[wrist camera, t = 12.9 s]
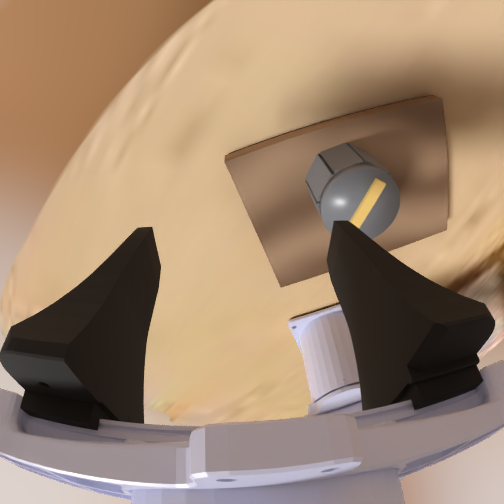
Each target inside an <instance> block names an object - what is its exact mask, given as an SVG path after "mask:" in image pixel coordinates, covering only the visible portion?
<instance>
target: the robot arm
mask: <svg viewBox="0 0 504 504" xmlns="http://www.w3.org/2000/svg"><path fill="white" fill-rule="evenodd" d="M326 261H327V265H328V270H329V274H330V278H331V282H332V284H333V287H334V290H335V292H336V295H337V298H338V300H339V303H340V304H338V305H335V306H332V307H329V308H326V309H323V310H320V311H317V312H313V313H310V314H307V315H304V316H300V317H297V318H294V319H291V320H289V321H288V326H289V328H290V330H291V332H292V334H293V336H294V338H295V340H296V343H297V345H298V347H299V349H300V351H301V353H302V355H303V359H304V364H305V369H306V375H307V380H308V385H309V390H310V396H311V401H312V404H310V405H308V406H307V407H308V413H309V415H305V416H304V417H299V418H290V419H280V420H268V421H254V422H232V423H219V424H209V425H205V426H167V425H152V424H144V405H143V400H144V366H145V353H146V343H147V336H148V331H149V327H150V322H151V318H152V314H153V310H154V305H155V301H156V297H157V293H158V288H159V281H160V271H161V264H160V260H159V256H158V251H157V247H156V242H155V238H154V233H153V228H152V227H142V228H137V229H136V230H135V231H134V232H133V233H132V234H131V235H130V236H129V237H128V238H127V239H126V240H125V241H124V242H123V243H122V244H121V245H120V246H119V247H118V248H117V249H116V250H115V251H114V253H113V254H112V255H111V256H110V257H109V258H108V259H107V260H106V261H104V262H103V263H102V264H101V265H100V266H99V267H98V268H97V269H96V270H95V271H94V272H93V273H92V274H91V275H90V276H89V277H87V278H86V279H85V280H84V281H83V282H82V283H80V284H79V285H78V286H77V287H75V288H74V289H73V290H71V291H70V292H69V293H67V294H66V295H64V296H63V297H62V298H60V299H59V300H58V301H56V302H55V303H53V304H52V305H50V306H48V307H47V308H45V309H44V310H42V311H40V312H39V313H37V314H35V315H33V316H31V317H29V318H27V319H25V320H24V321H22V322H20V323H18V324H16V325H13V326H11V328H10V331H9V333H8V335H7V337H6V340H5V342H4V344H3V347H2V349H1V352H0V362H1V363H2V365H3V367H4V368H5V370H6V371H7V372H8V373H9V374H10V375H11V376H12V377H13V378H14V379H15V380H16V381H17V382H18V383H19V384H20V385H21V386H22V387H23V388H24V389H25V393H24V396H23V397H22V396H21V395H19V394H17V393H14V392H10V391H7V390H4V389H0V457H2V458H4V459H5V460H7V461H9V462H11V463H13V464H15V465H16V466H18V467H20V468H23V469H26V470H28V471H31V472H34V473H36V474H39V475H42V476H45V477H47V478H50V479H53V480H56V481H59V482H62V483H65V484H69V485H72V486H75V487H79V488H82V489H86V490H90V491H93V492H97V493H102V494H106V495H110V496H115V497H120V498H125V499H130V500H131V504H405V502H404V497H403V492H402V488H401V483H400V481H401V480H402V478H403V477H404V476H406V475H408V474H411V473H414V472H416V471H419V470H421V469H424V468H426V467H429V466H431V465H433V464H436V463H438V462H440V461H443V460H445V459H447V458H449V457H451V456H453V455H456V454H457V453H460V452H461V451H464V450H466V449H468V448H470V447H472V446H474V445H475V444H478V443H479V442H481V441H483V440H485V439H487V438H489V437H490V436H491V435H493V434H495V433H496V432H497V431H499V430H500V429H502V428H503V427H504V361H503V360H501V361H498V362H496V363H494V364H491V365H488V366H486V367H484V368H483V369H481V370H480V371H479V370H478V368H477V364H478V363H479V358H478V356H477V352H478V351H479V350H480V349H481V348H482V346H483V345H484V344H485V342H486V341H487V340H488V339H489V337H490V336H491V334H492V332H493V330H494V327H495V320H494V318H493V317H492V315H491V313H490V312H489V310H488V308H487V307H486V305H485V304H484V303H481V302H478V301H476V300H473V299H470V298H467V297H464V296H462V295H460V294H457V293H455V292H453V291H451V290H448V289H446V288H444V287H442V286H440V285H438V284H436V283H435V282H433V281H431V280H429V279H427V278H426V277H424V276H422V275H420V274H419V273H417V272H416V271H414V270H413V269H411V268H409V267H408V266H406V265H405V264H403V263H402V262H401V261H399V260H398V259H397V258H395V257H394V256H392V255H391V254H390V253H388V252H387V251H386V250H385V249H383V248H382V247H381V246H380V245H378V244H377V243H376V242H375V241H373V240H372V239H371V238H370V237H368V236H367V235H366V234H365V233H364V232H362V231H361V230H360V229H359V228H357V227H356V226H355V225H354V224H352V223H351V222H349V221H348V220H341V221H334V222H333V228H332V233H331V239H330V244H329V249H328V255H327V260H326Z"/></svg>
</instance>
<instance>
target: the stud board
mask: <svg viewBox="0 0 504 504" xmlns="http://www.w3.org/2000/svg"><path fill="white" fill-rule="evenodd" d="M343 143H346V144H348V143H349V144H352V145H354V146H356V147H358V148H360V149H362V150H364V151H366V152H368V153H370V154H371V155H372V156H373V157H374V158H375V159H376V160H377V161H378V162H379V163H381V164H382V165H383V166H384V167H385V168H386V169H387V170H388V171H389V172H390V174H391V175H392V178H393V180H394V181H395V182H396V184H397V186H398V188H399V192H400V207H399V211H398V213H397V216H396V218H395V219H394V221H393V222H392V224H391V225H390V226H389V227H388V228H387V229H386V230H385V231H384V232H383V233H382V234H380V235H379V236H377V237H375V238H373V239H372V240H373V241H375V242H376V243H377V244H378V245H380V246H381V247H382V248H383V249H385V250H386V251H387V252H388V251H391V250H394V249H397V248H399V247H402V246H405V245H408V244H410V243H413V242H416V241H419V240H421V239H424V238H427V237H429V236H432V235H435V234H437V233H440V232H443V231H445V230H447V219H448V161H447V143H446V130H445V119H444V110H443V102H442V99H441V98H439V97H436V96H434V95H431V96H426V97H421V98H416V99H411V100H406V101H402V102H397V103H393V104H389V105H385V106H380V107H376V108H372V109H368V110H364V111H361V112H357V113H353V114H349V115H346V116H342V117H339V118H335V119H332V120H328V121H325V122H321V123H318V124H315V125H312V126H308V127H305V128H302V129H299V130H296V131H293V132H290V133H287V134H284V135H281V136H278V137H275V138H272V139H269V140H266V141H263V142H260V143H258V144H255V145H252V146H249V147H247V148H244V149H241V150H238V151H236V152H233V153H231V154H228V155H225V164H226V166H227V168H228V170H229V173H230V175H231V177H232V179H233V181H234V184H235V186H236V188H237V190H238V193H239V195H240V197H241V199H242V201H243V204H244V206H245V208H246V210H247V212H248V215H249V217H250V219H251V221H252V224H253V226H254V228H255V230H256V233H257V235H258V237H259V239H260V242H261V244H262V246H263V248H264V250H265V253H266V255H267V257H268V259H269V262H270V264H271V266H272V269H273V271H274V273H275V275H276V278H277V280H278V282H279V284H280V287H284V286H287V285H290V284H293V283H297V282H300V281H303V280H306V279H309V278H312V277H315V276H318V275H321V274H324V273H327V272H329V270H328V265H327V261H326V260H327V255H328V249H329V244H330V239H331V233H330V232H329V231H328V230H327V228H325V226H324V224H323V222H322V220H321V218H320V215H319V213H318V211H317V209H316V207H315V205H314V203H313V200H312V197H311V195H310V192H309V189H308V187H307V184H306V182H305V181H306V176H307V174H308V172H309V170H310V168H311V166H312V164H313V162H314V160H315V158H316V156H317V154H318V155H320V152H321V151H324V150H327V149H329V148H332V147H335V146H337V145H340V144H343ZM320 156H321V155H320Z"/></svg>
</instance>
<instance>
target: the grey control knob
mask: <svg viewBox="0 0 504 504" xmlns="http://www.w3.org/2000/svg"><path fill="white" fill-rule="evenodd" d="M320 155H321V156H320ZM320 155H318V154H317V156H316V158H315V160H314V162H313V164H312V166H311V168H310V170H309V172H308V174H307V176H306V181H305V182H306V184H307V187H308V189H309V192H310V195H311V197H312V200H313V203H314V205H315V207H316V209H317V211H318V213H319V215H320V218H321V220H322V222H323V224H324V226H325V228H327V230H328V231H329V232H330V233H332V228H333V222H334V221H341V220H348V221H349V222H351V223H352V224H354V225H355V226H356V227H357V228H359V229H360V230H361V231H362V232H364V233H365V234H366V235H367V236H368V237H370V238H371V239H373V238H375V237H377V236H379V235H380V234H382V233H383V232H384V231H385V230H386V229H387V228H388V227H389V226H390V225H391V224H392V222H393V221H394V219H395V218H396V216H397V213H398V211H399V207H400V192H399V188H398V186H397V184H396V182H395V181H394V180H393V178H392V175H391V174H390V172H389V171H388V170H387V169H386V168H385V167H384V166H383V165H382V164H381V163H379V162H378V161H377V160H376V159H375V158H374V157H373V156H372V155H371V154H370V153H368V152H366V151H364V150H362V149H360V148H358V147H356V146H354V145H352V144H349V143H348V144H346V143H343V144H340V145H337V146H335V147H332V148H329V149H327V150H324V151H321V152H320Z"/></svg>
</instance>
